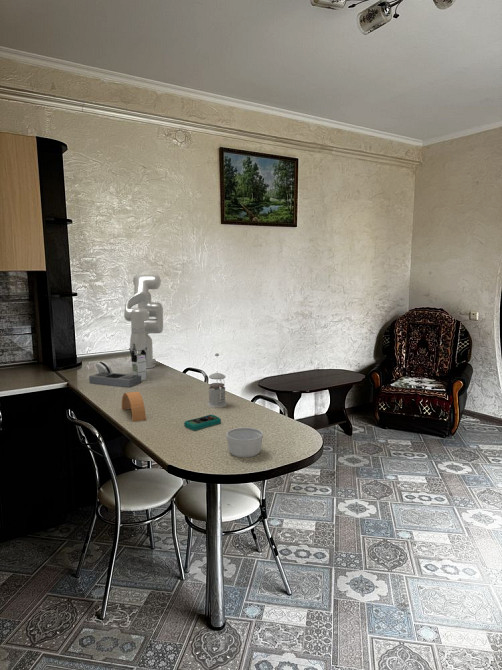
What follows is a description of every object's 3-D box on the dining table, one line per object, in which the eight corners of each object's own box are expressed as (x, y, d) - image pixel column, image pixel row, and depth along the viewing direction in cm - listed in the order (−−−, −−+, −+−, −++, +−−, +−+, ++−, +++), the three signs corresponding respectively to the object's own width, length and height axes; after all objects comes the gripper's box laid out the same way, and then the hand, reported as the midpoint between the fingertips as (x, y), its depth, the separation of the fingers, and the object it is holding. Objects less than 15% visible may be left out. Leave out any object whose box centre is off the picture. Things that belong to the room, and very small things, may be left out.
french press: (203, 405, 223) (203, 354, 219) (213, 399, 233) (213, 350, 230) (222, 408, 219) (222, 355, 216) (231, 401, 230) (232, 351, 226)
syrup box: (146, 379, 274) (145, 354, 272) (137, 381, 269) (137, 356, 267) (140, 377, 277) (140, 353, 275) (132, 379, 273) (131, 355, 271)
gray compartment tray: (102, 378, 275) (102, 371, 274) (141, 382, 266) (141, 375, 266) (89, 383, 263) (89, 376, 263) (129, 387, 255) (129, 380, 254)
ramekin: (220, 455, 165) (220, 436, 164) (234, 442, 177) (234, 425, 176) (255, 461, 160) (255, 442, 159) (267, 447, 172) (268, 429, 171)
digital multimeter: (222, 423, 199) (222, 417, 198) (193, 431, 189) (193, 424, 188) (211, 419, 204) (211, 413, 204) (183, 427, 194) (183, 420, 194)
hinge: (117, 377, 277) (111, 362, 273) (110, 381, 274) (103, 366, 271) (107, 372, 290) (101, 358, 286) (100, 376, 287) (93, 361, 284)
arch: (132, 422, 199) (131, 399, 198) (121, 409, 217) (120, 388, 215) (145, 420, 202) (145, 397, 201) (134, 407, 220) (133, 387, 218)
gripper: (140, 329, 278) (141, 357, 281) (123, 332, 262) (124, 362, 264) (151, 329, 276) (152, 358, 278) (135, 333, 260) (136, 363, 262)
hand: (138, 360), depth 271 cm, fingers open, 9 cm apart
